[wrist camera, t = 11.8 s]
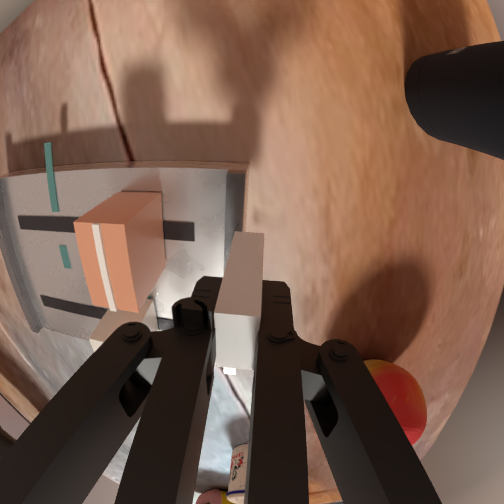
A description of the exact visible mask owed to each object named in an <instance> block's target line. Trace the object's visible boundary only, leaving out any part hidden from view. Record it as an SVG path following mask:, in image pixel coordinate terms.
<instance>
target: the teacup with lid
mask: <svg viewBox="0 0 504 504" xmlns="http://www.w3.org/2000/svg"><path fill="white" fill-rule="evenodd" d="M248 444H249V443H248ZM248 444H243V445H240V446H237V447H235V448H234V449H233V451H232V459H231V468H230V477H229V487H228V493H227V494H226V497H227V499H228V501H230V502H232V503H235V504H244V496H245V483H246V471H247V458H248Z"/></svg>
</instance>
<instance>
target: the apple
mask: <svg viewBox="0 0 504 504" xmlns="http://www.w3.org/2000/svg"><path fill="white" fill-rule="evenodd" d="M364 363H365V365H366V366H367V368H368V370H369V371H370V373H371V375H372V377H373V378H374V380H375V382H376V383H377V385H378V387H379V388H380V390H381V392H382V394H383V395H384V397H385V399H386V401H387V402H388V404H389V406H390V407H391V409H392V411H393V413H394V415H395V416H396V418H397V420H398V422H399V423H400V425H401V427H402V429H403V431H404V432H405V434H406V436H407V438H408V440H409V441H410V443H411V445H413V444H414V443H415V442H416V441H417V440H418V439H419V438H420V437H421V435H422V433H423V432H424V429H425V426H426V422H427V409H426V403H425V398H424V395H423V392H422V390H421V388H420V386H419V384H418V382H417V381H416V379H415V378H414V377H413V376H412V375H411V374H410V373H409V372H408V371H406V370H405V369H403V368H401V367H399V366H397V365H395V364H393V363H390V362H387V361H383V360H378V359H371V360H365V361H364Z"/></svg>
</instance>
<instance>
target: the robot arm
mask: <svg viewBox="0 0 504 504" xmlns="http://www.w3.org/2000/svg"><path fill="white" fill-rule="evenodd" d="M263 249H264V233H251V232H239V231H235V233H234V237H233V241H232V245H231V248H230V252H229V256H228V260H227V264H226V267H225V271H224V275H223V277H212V276H203V277H202V278H200V279H199V280H198V281H197V282H196V284H195V287H194V291H193V292H192V295H191V297H187V298H183V299H180V300H178V301H177V302H175V303H174V304H173V306H172V307H171V308H172V316H173V323H174V327H173V328H171V329H168V330H163V331H152V332H151V331H150V329H149V328H148V326H147V325H145V324H143V323H141V322H128V323H125V324H122V325H121V326H119V327H118V328H117V329H116V330H115V331H114V332H113V333H112V334H111V335H110V336H109V337H108V338H107V339H106V340H105V341H104V342H103V343H102V345H101V346H100V347H99V348H98V349H97V350H96V351H95V352H94V353H93V354H92V355H91V356H90V357H89V358H88V359H87V361H86V362H85V363H84V364H83V365H82V366H81V367H80V368H79V369H78V370H77V371H76V373H75V374H74V375H73V376H72V377H71V378H70V379H69V380H68V381H67V382H66V384H65V385H64V386H63V387H62V388H61V389H60V390H59V391H58V393H57V394H56V395H55V396H54V397H53V398H52V399H51V400H50V402H49V403H48V404H47V405H46V406H45V407H44V409H43V410H42V411H41V412H40V413H39V414H38V416H37V417H36V418H35V419H34V420H33V421H32V423H31V424H30V425H29V426H28V427H27V429H26V430H25V431H24V432H23V433H22V435H21V436H20V437H19V439H17V440H16V439H14V438H13V437H12V436H11V435H9V434H8V433H7V432H6V431H4V430H3V429H2V428H1V426H0V504H82V503H83V502H84V500H85V499H86V497H87V496H88V494H89V493H90V491H91V489H92V488H93V486H94V485H95V484H96V482H97V481H98V479H99V478H100V476H101V475H102V473H103V472H104V470H105V469H106V467H107V466H108V464H109V463H110V461H111V460H112V458H113V457H114V455H115V454H116V452H117V451H118V449H119V448H120V446H121V445H122V443H123V442H124V440H125V439H126V438H127V436H128V435H129V433H130V432H131V430H132V429H133V427H134V426H135V424H136V423H137V421H138V420H139V418H140V417H141V418H140V421H139V424H138V427H137V430H136V433H135V436H134V440H133V443H132V446H131V449H130V452H129V455H128V459H127V462H126V465H125V468H124V472H123V475H122V479H121V482H120V486H119V489H118V493H117V496H116V500H115V503H114V504H192V502H193V496H194V490H195V484H196V478H197V472H198V466H199V460H200V454H201V448H202V442H203V436H204V431H205V425H206V419H207V414H208V408H209V402H210V397H211V391H212V386H213V380H214V365H215V366H216V367H225V368H235V369H246V370H254V377H253V386H252V403H251V417H250V431H249V444H248V458H247V471H246V483H245V496H244V504H309V490H308V466H307V446H306V429H305V414H304V400H305V403H306V406H307V409H308V411H309V414H310V417H311V419H312V422H313V424H314V427H315V430H316V432H317V435H318V438H319V440H320V443H321V445H322V448H323V451H324V453H325V456H326V458H327V461H328V464H329V466H330V469H331V472H332V474H333V477H334V479H335V482H336V485H337V487H338V490H339V492H340V495H341V498H342V500H343V503H344V504H442V503H441V501H440V499H439V497H438V495H437V493H436V491H435V489H434V487H433V485H432V483H431V481H430V479H429V477H428V475H427V473H426V471H425V469H424V467H423V466H422V464H421V462H420V460H419V458H418V456H417V454H416V452H415V451H414V449H413V447H412V445H411V443H410V441H409V440H408V438H407V436H406V434H405V432H404V431H403V429H402V427H401V425H400V423H399V422H398V420H397V418H396V416H395V415H394V413H393V411H392V409H391V407H390V406H389V404H388V402H387V401H386V399H385V397H384V395H383V394H382V392H381V390H380V388H379V387H378V385H377V383H376V382H375V380H374V378H373V377H372V375H371V373H370V371H369V370H368V368H367V366H366V365H365V363H364V361H363V360H362V358H361V356H360V355H359V353H358V352H357V350H356V349H355V348H354V346H353V345H351V344H350V343H348V342H346V341H343V340H339V339H332V340H329V341H326V342H324V343H323V344H322V345H321V346H318V345H314V344H311V343H308V342H306V341H304V340H302V339H301V338H300V337H299V336H298V335H297V333H296V331H295V330H294V326H293V315H292V305H291V295H290V288H289V287H288V286H287V284H286V283H285V282H281V281H268V280H262V277H263ZM303 399H304V400H303Z"/></svg>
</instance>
